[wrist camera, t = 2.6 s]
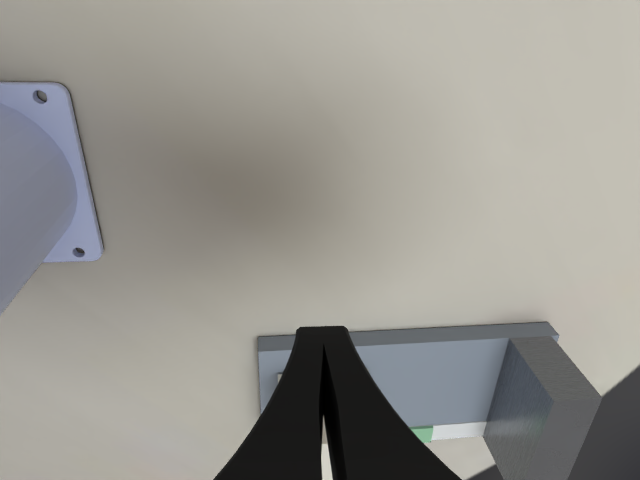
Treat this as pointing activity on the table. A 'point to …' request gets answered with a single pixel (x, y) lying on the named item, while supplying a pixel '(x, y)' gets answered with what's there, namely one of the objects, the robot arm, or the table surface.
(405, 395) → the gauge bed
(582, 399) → the grey rectangular block
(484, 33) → the table surface
